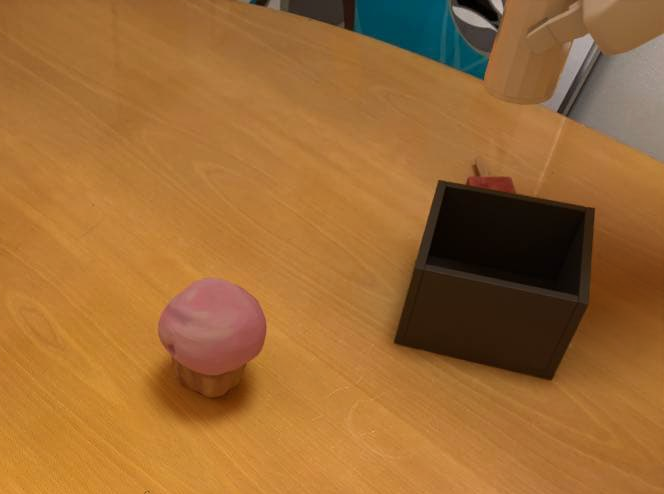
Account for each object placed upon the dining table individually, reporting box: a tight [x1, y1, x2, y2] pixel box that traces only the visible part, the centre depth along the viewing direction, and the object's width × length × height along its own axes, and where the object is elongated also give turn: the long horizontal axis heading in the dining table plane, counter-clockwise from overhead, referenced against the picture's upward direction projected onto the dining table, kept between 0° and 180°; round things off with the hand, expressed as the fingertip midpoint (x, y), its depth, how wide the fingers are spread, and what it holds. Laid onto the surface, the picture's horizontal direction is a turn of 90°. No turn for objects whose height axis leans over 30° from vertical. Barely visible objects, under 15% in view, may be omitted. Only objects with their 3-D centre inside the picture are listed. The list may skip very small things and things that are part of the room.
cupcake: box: [157, 277, 267, 399], centre depth 73 cm, size 9×9×10 cm
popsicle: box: [465, 155, 517, 194], centre depth 92 cm, size 4×2×15 cm
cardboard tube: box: [482, 0, 578, 106], centre depth 70 cm, size 6×6×10 cm
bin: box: [393, 179, 596, 381], centre depth 78 cm, size 14×14×9 cm
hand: (530, 24), depth 70 cm, fingers closed on cardboard tube, 6 cm apart
